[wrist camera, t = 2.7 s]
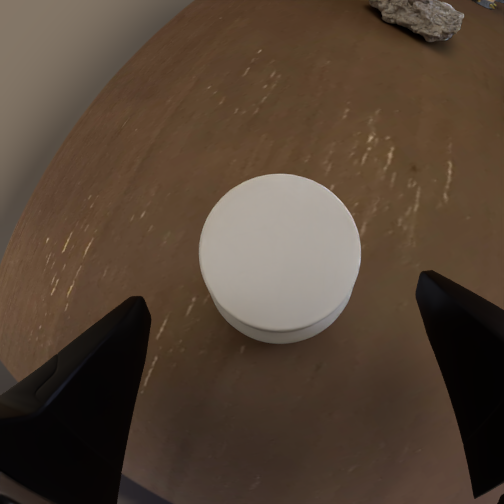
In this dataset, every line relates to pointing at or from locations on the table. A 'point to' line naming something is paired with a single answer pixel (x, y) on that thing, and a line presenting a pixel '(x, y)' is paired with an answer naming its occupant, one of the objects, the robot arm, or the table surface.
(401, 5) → the mineral specimen
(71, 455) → the robot arm
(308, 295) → the pill bottle
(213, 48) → the table surface
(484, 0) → the mug
